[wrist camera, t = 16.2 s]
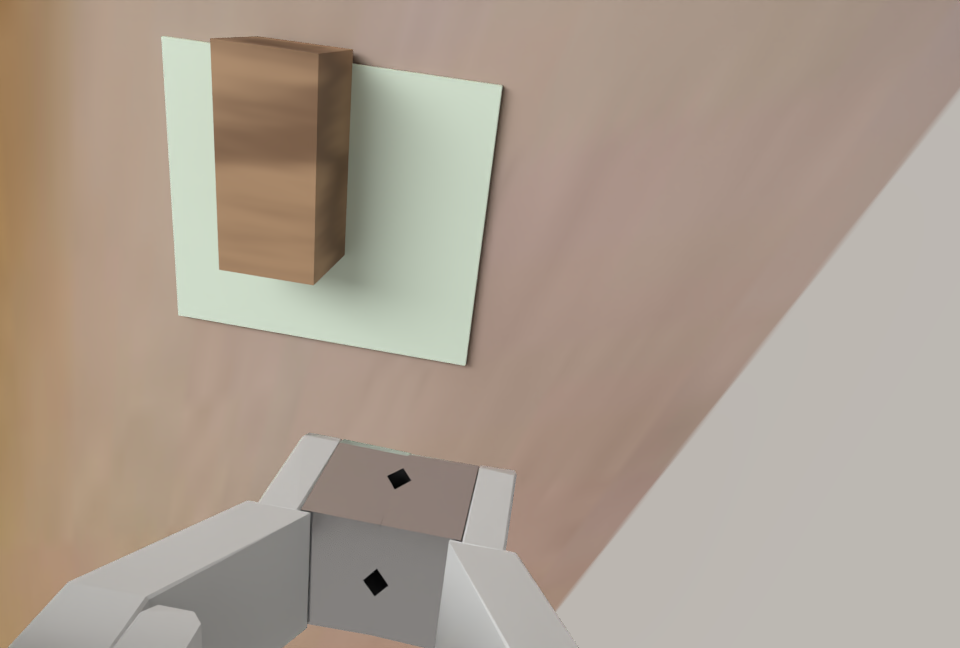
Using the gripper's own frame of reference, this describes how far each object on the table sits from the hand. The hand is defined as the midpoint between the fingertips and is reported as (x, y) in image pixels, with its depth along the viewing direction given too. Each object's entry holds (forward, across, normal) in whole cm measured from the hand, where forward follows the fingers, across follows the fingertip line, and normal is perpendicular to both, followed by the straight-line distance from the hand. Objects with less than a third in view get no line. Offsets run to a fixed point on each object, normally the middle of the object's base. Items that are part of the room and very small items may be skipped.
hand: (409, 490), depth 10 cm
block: (+26, +12, -4) cm, 29 cm away
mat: (+29, +11, +5) cm, 31 cm away
